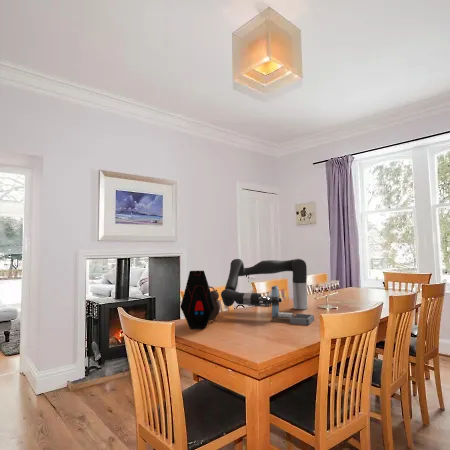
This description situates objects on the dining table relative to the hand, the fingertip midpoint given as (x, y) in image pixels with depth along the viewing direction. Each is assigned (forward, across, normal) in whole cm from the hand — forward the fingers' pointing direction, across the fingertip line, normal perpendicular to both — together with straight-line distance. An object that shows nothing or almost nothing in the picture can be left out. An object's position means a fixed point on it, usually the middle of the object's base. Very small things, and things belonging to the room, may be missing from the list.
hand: (279, 300), depth 194 cm
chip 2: (+5, 0, -11) cm, 12 cm away
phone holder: (-28, -44, -12) cm, 54 cm away
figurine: (-34, +34, -11) cm, 49 cm away
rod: (-3, 0, -10) cm, 10 cm away
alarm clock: (-36, +20, -11) cm, 43 cm away
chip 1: (+1, 0, -11) cm, 11 cm away
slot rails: (+2, 0, -11) cm, 11 cm away
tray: (+13, 0, -11) cm, 17 cm away
